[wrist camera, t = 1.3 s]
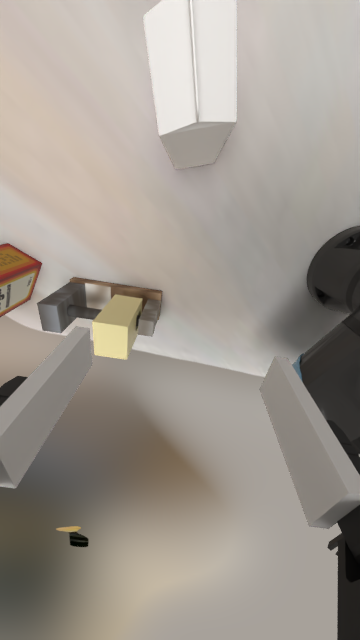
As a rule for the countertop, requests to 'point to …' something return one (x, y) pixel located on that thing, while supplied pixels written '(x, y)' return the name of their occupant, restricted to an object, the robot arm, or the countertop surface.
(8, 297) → the baking soda box
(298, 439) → the robot arm
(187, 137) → the milk
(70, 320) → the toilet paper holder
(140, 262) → the countertop surface
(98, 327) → the pale yellow block
